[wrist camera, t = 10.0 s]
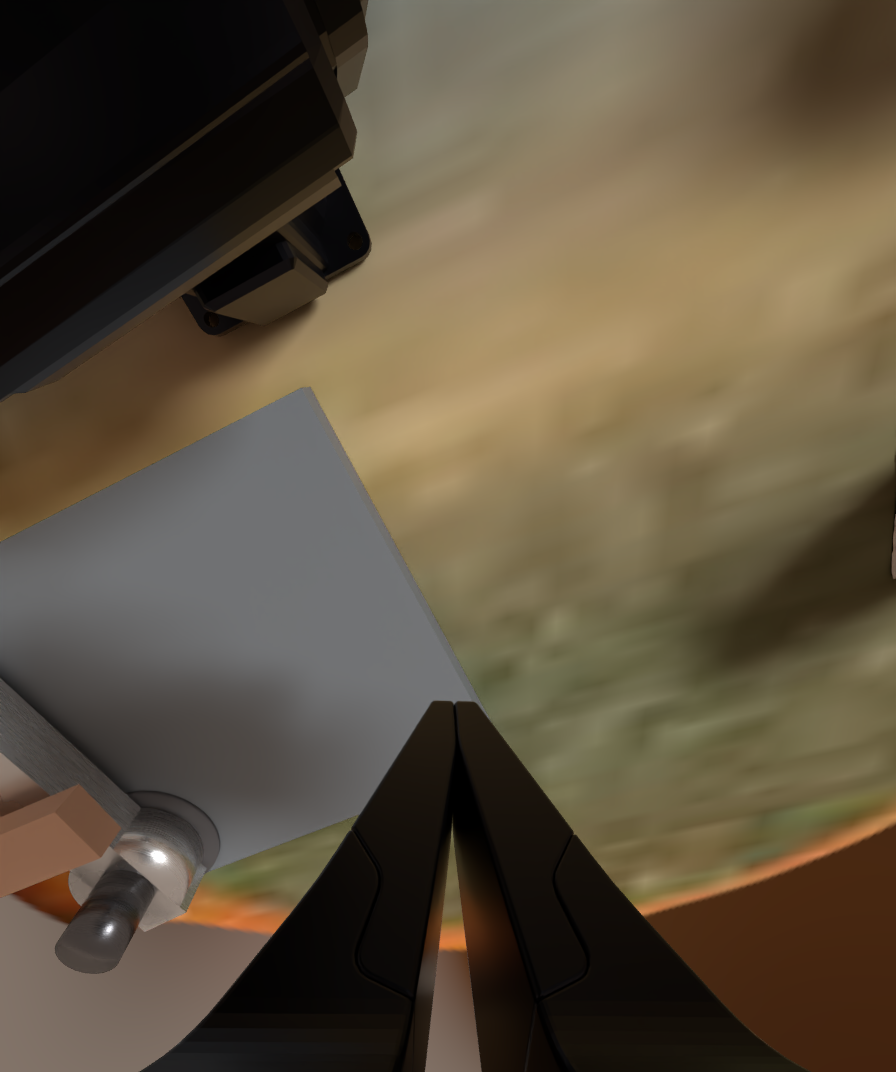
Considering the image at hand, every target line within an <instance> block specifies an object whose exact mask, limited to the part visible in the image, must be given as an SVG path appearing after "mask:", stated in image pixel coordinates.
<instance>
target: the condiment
mask: <svg viewBox="0 0 896 1072" xmlns="http://www.w3.org/2000/svg"><path fill="white" fill-rule="evenodd" d="M893 547H894V548H893V553H892V575H893V579H896V516H895V528H894V535H893Z"/></svg>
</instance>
